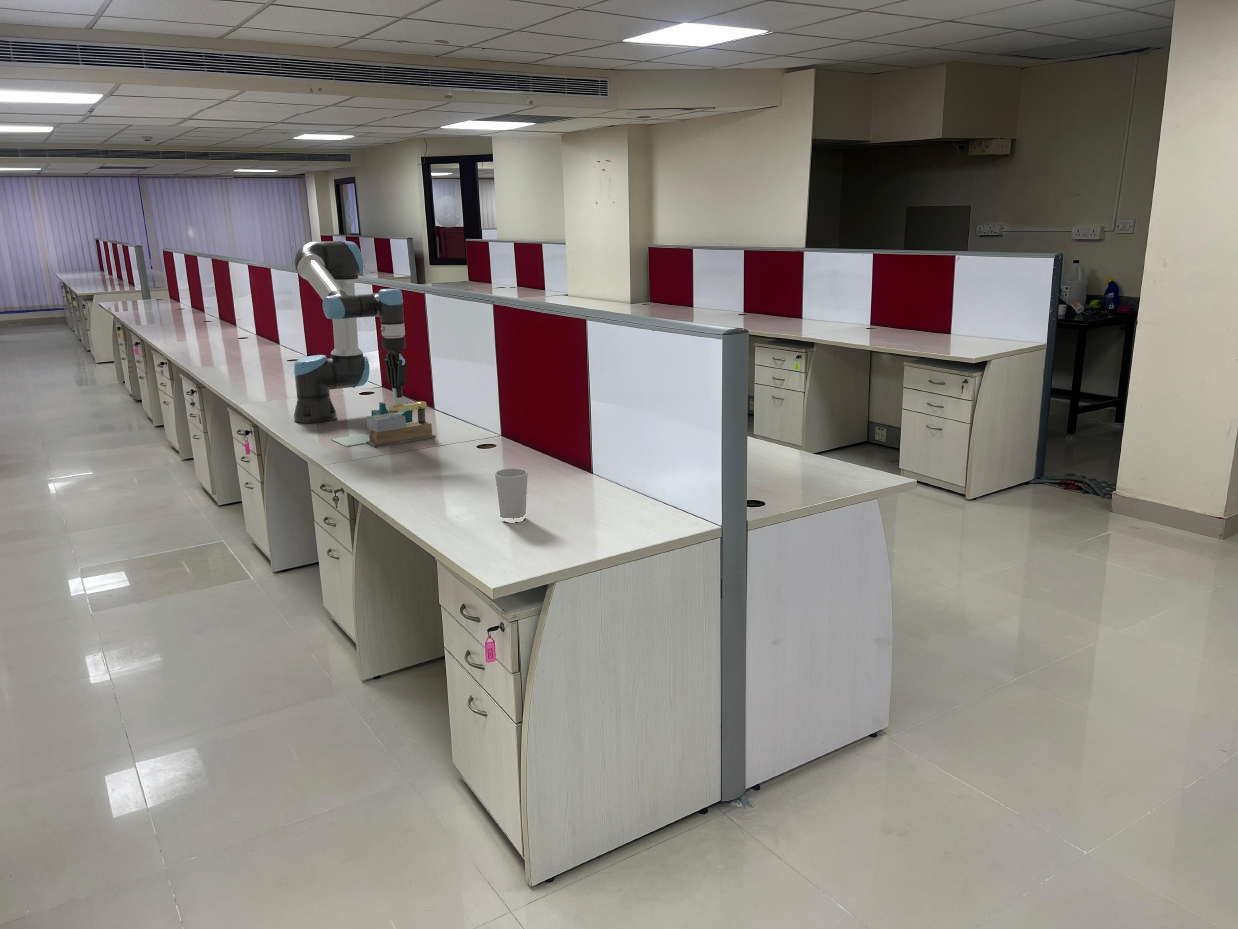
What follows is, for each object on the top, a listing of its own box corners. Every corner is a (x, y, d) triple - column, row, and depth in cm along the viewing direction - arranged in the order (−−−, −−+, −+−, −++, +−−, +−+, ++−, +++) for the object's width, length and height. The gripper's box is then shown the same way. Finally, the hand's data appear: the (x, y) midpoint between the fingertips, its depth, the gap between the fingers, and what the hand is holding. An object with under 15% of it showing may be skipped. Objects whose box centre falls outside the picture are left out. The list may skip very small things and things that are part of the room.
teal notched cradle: (411, 433, 312) (412, 404, 310) (380, 433, 307) (381, 404, 305) (401, 423, 328) (401, 395, 325) (371, 423, 323) (371, 395, 321)
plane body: (366, 443, 295) (364, 414, 292) (425, 433, 308) (424, 406, 306) (375, 447, 290) (373, 418, 287) (435, 437, 303) (434, 409, 301)
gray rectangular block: (367, 428, 294) (366, 416, 293) (395, 424, 301) (394, 412, 300) (377, 432, 289) (377, 420, 287) (406, 428, 295) (405, 416, 294)
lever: (387, 411, 296) (387, 406, 295) (423, 406, 304) (422, 401, 303) (392, 413, 293) (392, 407, 292) (428, 408, 301) (428, 402, 301)
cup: (497, 514, 222) (495, 468, 219) (529, 513, 223) (528, 467, 220) (496, 525, 215) (494, 477, 212) (529, 524, 215) (527, 476, 212)
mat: (331, 440, 299) (331, 439, 299) (365, 435, 307) (364, 433, 307) (346, 446, 290) (346, 445, 290) (380, 441, 298) (380, 440, 298)
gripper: (374, 335, 295) (379, 405, 301) (391, 339, 285) (397, 411, 291) (395, 334, 300) (399, 402, 306) (413, 337, 290) (417, 408, 296)
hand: (398, 406), depth 299 cm, fingers closed
